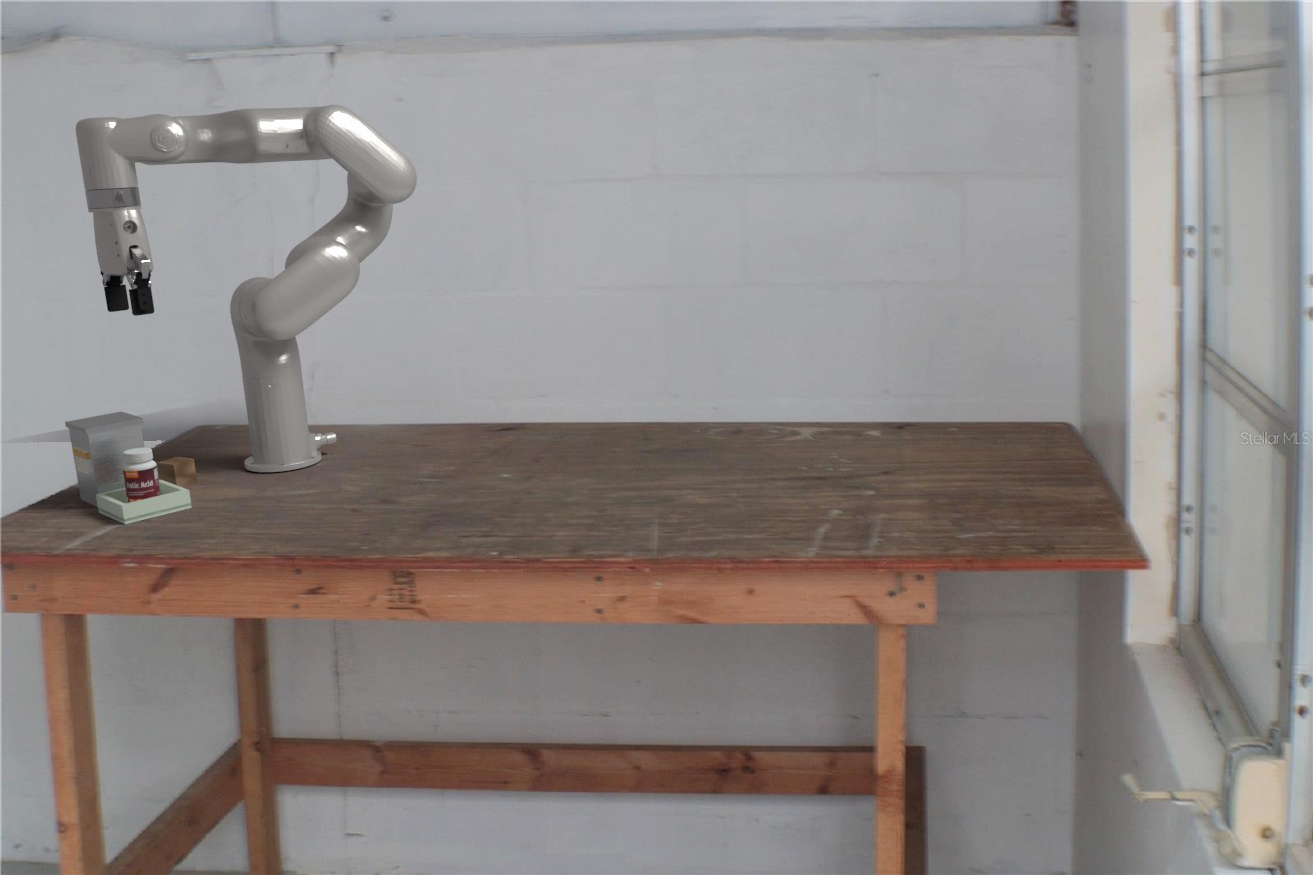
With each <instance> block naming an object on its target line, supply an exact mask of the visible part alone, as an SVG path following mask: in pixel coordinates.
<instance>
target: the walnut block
mask: <svg viewBox="0 0 1313 875" xmlns="http://www.w3.org/2000/svg"><path fill="white" fill-rule="evenodd" d="M156 464H157V472H158V479H159V480H164V481H166V482H169V483H172V484H174V485H177V486H180V487H183V488H184V487H185V486H189V485H192V484H195V483H198V479H197V478H198V477H197V471H196V464H195V459H194V458H190V457H184V456H173V457H172V458H168V459H164V460H162V461H157V462H156Z"/></svg>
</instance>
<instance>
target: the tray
mask: <svg viewBox="0 0 1313 875" xmlns="http://www.w3.org/2000/svg"><path fill="white" fill-rule="evenodd" d="M159 487H160V496H156V497H151V498H147V499H143V500H139V501H134V502H130V503H127V496H126V489H125V488H123V489H118V490H114V491H109V492H105V493H101V494H96V499H97V505H98V507H97V508H98V509H97V510H98V513H100V514H101V515H103V516H106V517H107V518H110V519H113V521H114V520H115V521H117V522H119V523H121V524H123V525H128V524H132V523H136V522H140V521H143V520H148V519H153V518H156V517H160V516H164V515H169V514H172V513H177V512H180V511H184V510H188V509H192V507H193V506H192V500H191V499H192V498H191V494H190V489H188V488H185V487H184V486H183V487H180V486H177V485H174V484H172V483H169V482H166V481H164V480H159Z"/></svg>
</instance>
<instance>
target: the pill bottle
mask: <svg viewBox="0 0 1313 875" xmlns="http://www.w3.org/2000/svg"><path fill="white" fill-rule="evenodd" d="M123 457H124V462H126V464H124V465H123V475H124V482H125V489H126V496H127V503H130V502H134V501H139V500H143V499H147V498H151V497H156V496H160V487H159V474H158V467H157V462H156V461H154V460H153V459H154V456H153V450H152V448H150V447H145V448H134V449H129V450H126V451H124V452H123Z"/></svg>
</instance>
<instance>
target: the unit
mask: <svg viewBox="0 0 1313 875" xmlns="http://www.w3.org/2000/svg"><path fill="white" fill-rule="evenodd" d="M64 423H65V428H68V432H69V439H70V443H71V448H72V455H73V460H74V466H75V472H76V473H75V474H76V479H77V483H78V490H79V495H80V500H81V501H82V502H85V503H87V504H89V505H92V506H93V507H96V508H98V505H97V499H96V494H101V493H105V492H109V491H114V490H118V489H123V488H125V482H124V475H123V465H124V464H126V462H124V457H123V452H124V451H126V450H129V449H134V448H146V446H145V439H144V434H143V433H144V432H143V427H142V424H144V418H143V417H140V416H137V415H134V414H131V413H128V412H125V411H124V412H123V411H117V412H112V413H105V414H101V415H95V416H91V417H83V418H78V419H74V420H68V421H65V422H64Z"/></svg>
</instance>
